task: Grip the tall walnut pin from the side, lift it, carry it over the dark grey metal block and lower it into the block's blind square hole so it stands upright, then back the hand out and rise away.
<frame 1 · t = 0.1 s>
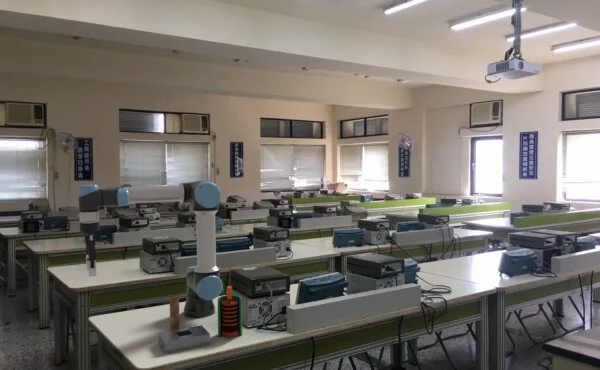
hand: (91, 272, 201), 28 cm above the lab bench, tool pointing down, fingers open, 13 cm apart
pin: (175, 332, 209), on the lab bench
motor: (229, 334, 206), on the lab bench
hole block: (184, 344, 195), on the lab bench
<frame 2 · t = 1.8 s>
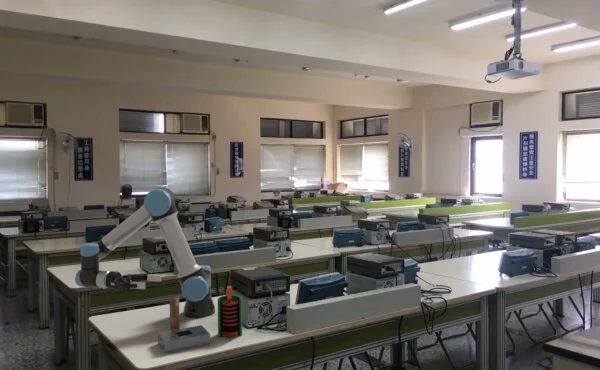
hand: (153, 282, 211), 22 cm above the lab bench, tool horizontal, fingers open, 13 cm apart
nothing on the lab bench moved.
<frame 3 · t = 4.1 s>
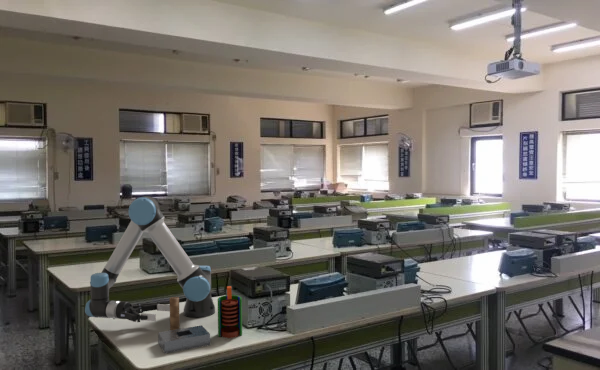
hand: (163, 312, 210), 8 cm above the lab bench, tool horizontal, fingers open, 13 cm apart
nothing on the lab bench moved.
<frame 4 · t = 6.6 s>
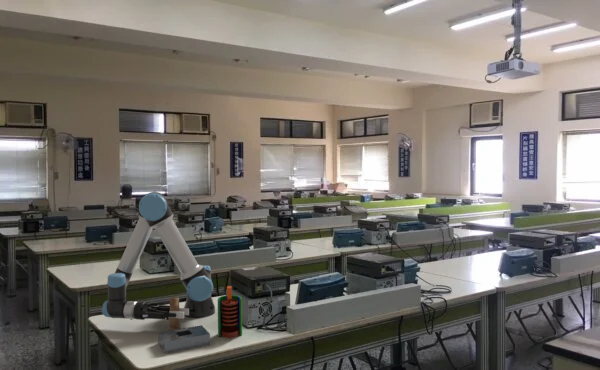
hand: (186, 313, 208), 9 cm above the lab bench, tool horizontal, fingers closed on pin, 4 cm apart
pin: (175, 332, 209), on the lab bench, touching gripper
everything else where it was.
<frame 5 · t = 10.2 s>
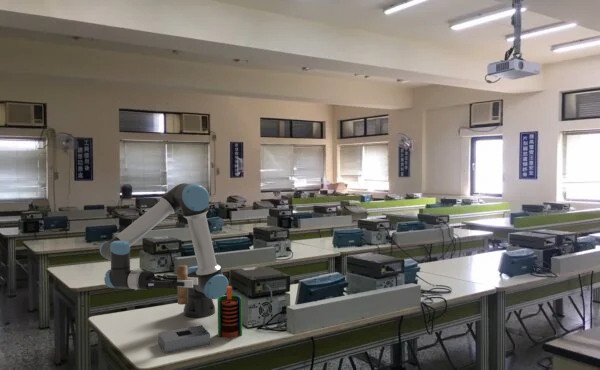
hand: (195, 282, 193), 25 cm above the lab bench, tool horizontal, fingers closed on pin, 4 cm apart
pin: (182, 303, 194), point 17 cm above the lab bench, touching gripper
everything else where it was.
when the fingers open (10 cm above the lab bench, at t = 13.9 s): pin stays where it is, resting on hole block.
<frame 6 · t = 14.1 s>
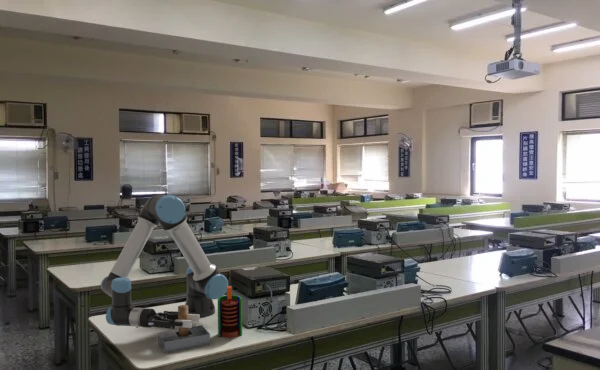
hand: (195, 321, 194), 10 cm above the lab bench, tool horizontal, fingers open, 7 cm apart
pin: (184, 342, 195), point 1 cm above the lab bench, touching hole block
everything else where it was.
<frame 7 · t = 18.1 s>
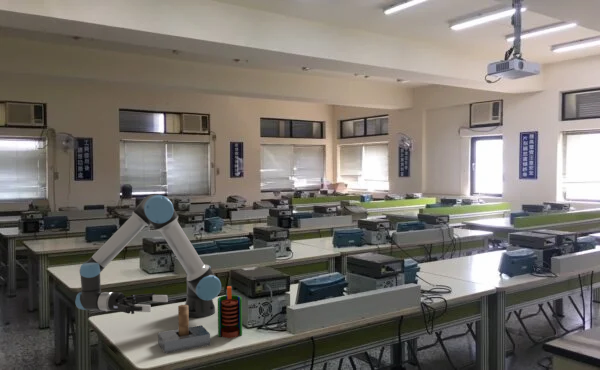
hand: (159, 303, 196), 16 cm above the lab bench, tool horizontal, fingers open, 13 cm apart
nothing on the lab bench moved.
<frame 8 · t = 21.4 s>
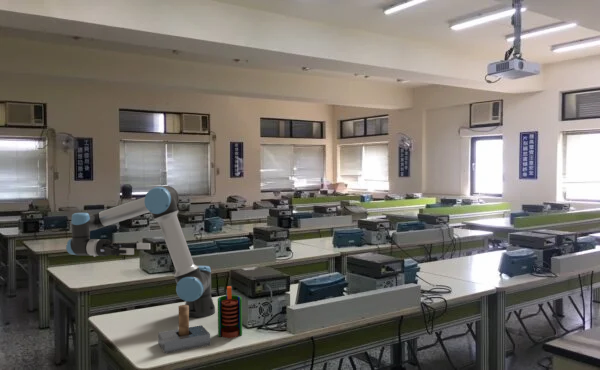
hand: (142, 248, 216), 35 cm above the lab bench, tool horizontal, fingers open, 13 cm apart
nothing on the lab bench moved.
at the end: pin 0.1 cm off-centre on the hole block, point 0.5 cm above the hole block's base; pin tilted 1°; the gripper is holding nothing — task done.
